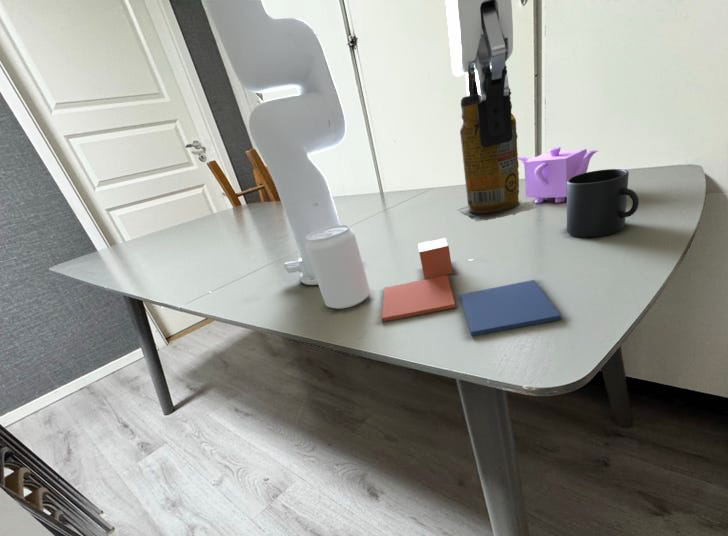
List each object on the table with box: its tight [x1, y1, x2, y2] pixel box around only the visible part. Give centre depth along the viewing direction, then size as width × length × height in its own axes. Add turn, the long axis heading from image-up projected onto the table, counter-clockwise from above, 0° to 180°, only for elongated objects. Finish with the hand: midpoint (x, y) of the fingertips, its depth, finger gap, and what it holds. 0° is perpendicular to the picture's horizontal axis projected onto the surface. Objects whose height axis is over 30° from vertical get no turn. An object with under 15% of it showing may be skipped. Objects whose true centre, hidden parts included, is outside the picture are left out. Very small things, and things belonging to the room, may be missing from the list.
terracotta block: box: [418, 237, 454, 280], centre depth 71 cm, size 5×5×5 cm
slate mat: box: [459, 279, 562, 337], centre depth 55 cm, size 11×12×1 cm
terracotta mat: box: [381, 275, 457, 322], centre depth 64 cm, size 11×12×1 cm
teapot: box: [518, 146, 600, 204], centre depth 94 cm, size 15×13×11 cm
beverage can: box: [306, 224, 371, 310], centre depth 67 cm, size 8×8×12 cm
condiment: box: [456, 87, 540, 222], centre depth 45 cm, size 7×8×12 cm
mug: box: [566, 168, 640, 238], centre depth 70 cm, size 9×12×9 cm
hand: (490, 140), depth 45 cm, fingers closed on condiment, 6 cm apart
